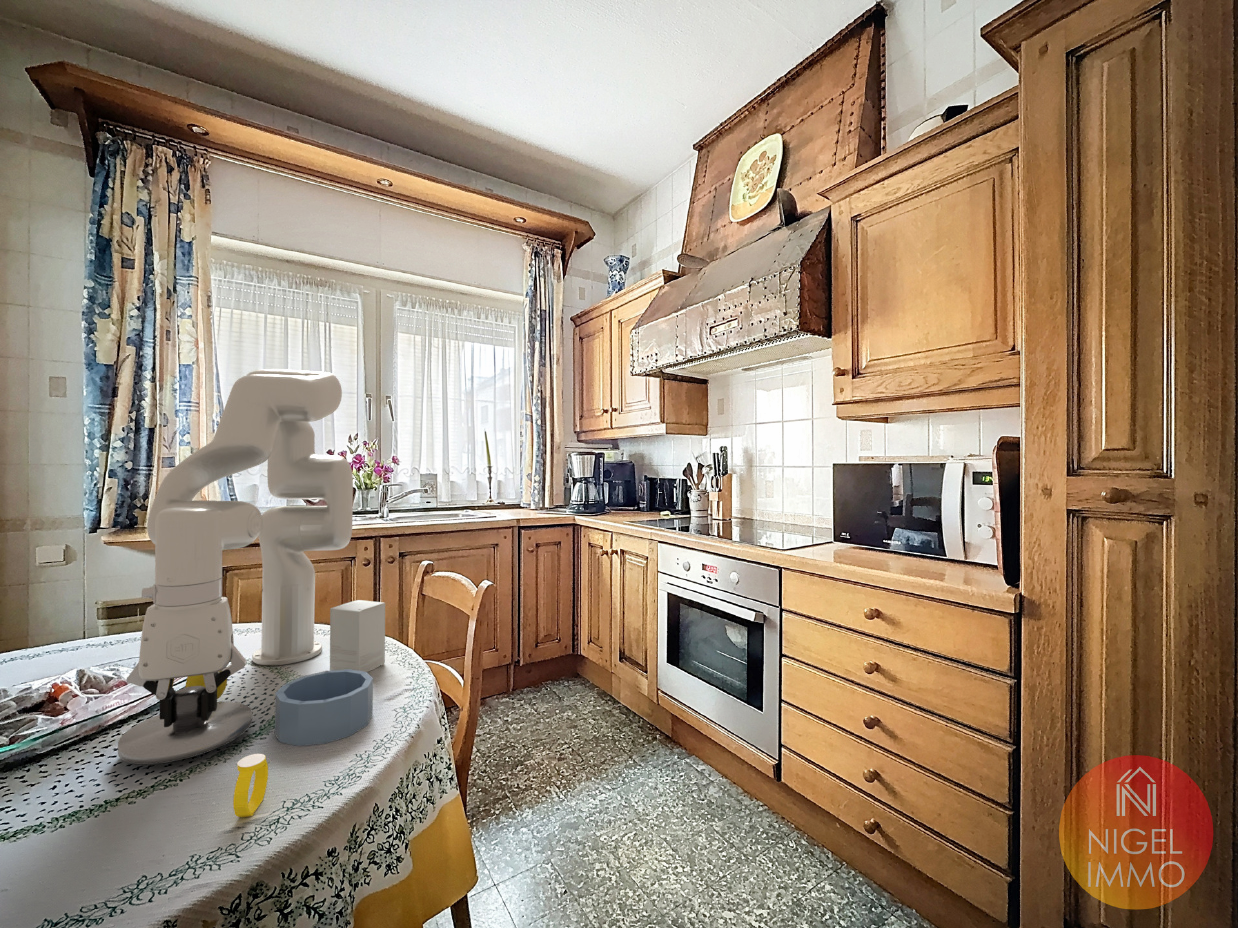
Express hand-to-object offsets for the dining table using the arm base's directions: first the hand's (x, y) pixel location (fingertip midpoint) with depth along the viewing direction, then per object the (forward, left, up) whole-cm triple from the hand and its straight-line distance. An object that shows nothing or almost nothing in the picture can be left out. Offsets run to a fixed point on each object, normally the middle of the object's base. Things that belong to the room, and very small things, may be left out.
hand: (189, 718), depth 77 cm
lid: (0, 0, -2) cm, 2 cm away
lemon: (-13, -4, -4) cm, 15 cm away
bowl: (-3, +17, -4) cm, 18 cm away
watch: (+18, +15, -4) cm, 23 cm away
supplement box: (-27, +16, -4) cm, 32 cm away
